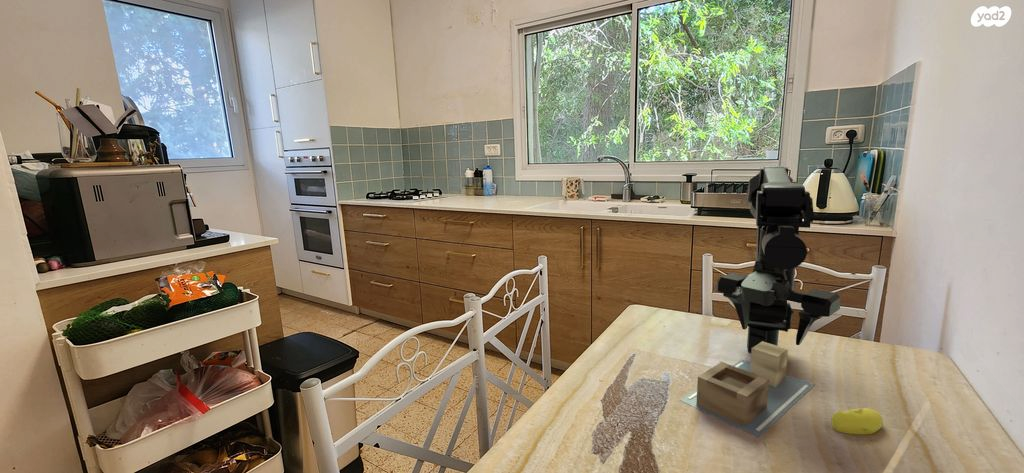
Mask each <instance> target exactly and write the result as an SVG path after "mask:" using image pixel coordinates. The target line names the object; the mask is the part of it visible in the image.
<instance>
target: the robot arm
mask: <svg viewBox="0 0 1024 473" xmlns="http://www.w3.org/2000/svg"><path fill="white" fill-rule="evenodd" d="M746 201H747V202H746V203H750V207H749V209H750V210H749V212H750V214H751V215H752V216H753V218H754V219H755V223H756V224H755V225H756V228H757V229H756V258H755V259H756V260H755V261H754V265H753V267H754V268H753V270H752V272H750V273H749V274H748V275H747V274H746V275H745V274H741V273H736V272H730V273H727V274H724V275H723V276H720V277H719V278H718V279H717V281H716V290H715V291H717V292H718V293H722V295H723V297H724V298H727V299H729V301H730V302H731V303H732V305H733V307H734V309H735V311H736V313H737V317H738V319H739V322H740V325H741V328H742V330H747V329H748V330H747V339H746V348H747V352H748V353H749V354H751V350H752V348H753V347H754V346H756V345H757V344H759V343H760V342H762V341H763V342H766V343H769V344H773V345H776V346H779V335H780V331H781V332H785V333H786V332H787V333H788V332H789V330H791V329H792V328H791V327H792V321H793V316H794V310H793V308H792V306H791V303H790V302H793V303H797V304H800V308H802V310H800V311H799V312H798V316H799V321H798V327H797V330H796V336H795V345H796V346H799V345H800V346H801V344H802V343H803V341H804V339H805V337H806V336H807V334H808V332H809V331H810V329H811V327H812V326H813V324H814V323H815V321H817V320H820V319H822V318H824V317H831V316H832V315H834V314H835V313H836V312H838V311H839V310H840V309H841V301H842V298H841V297H840V295H839V294H838V293H837V292H832V291H828V290H823V289H818V288H813V289H811V290H809V291H807V292H802V291H798V290H794V289H795V288H796V286H797V281H795V273H796V272H795V271H796V268H797V267H799V266H801V265H802V263H804V262H805V260H806V258H807V256H808V255H807V254H808V249H807V245H806V243H805V242H804V240H803V239H802V238H801V237H800V235H799V234H800V233H799V231H800V228H801V229H802V228H805V229H808V228H811V223H814V219H815V215H814V200H813V198H812V196H811V193H810V191H806V187H805V186H804V185H803V184H802V183H797V182H794V180H793V178H792V177H791V176H790V175H789V167H786V166H785V165H774V166H773V165H770V166H767V165H765V166H763V167H760V169H759V173H758V174H756V175H754V176H753V177H752V178H750V179H749V180H748V188H747V200H746ZM788 301H789V302H788Z"/></svg>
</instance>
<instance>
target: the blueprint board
mask: <svg viewBox="0 0 1024 473" xmlns="http://www.w3.org/2000/svg"><path fill="white" fill-rule="evenodd" d="M750 363H751V361H748V360H745V359H740V360H738V361H737V362H736V363H734V364H733V365H732V366H735V367H737V368H740V369H743V370H746V371H748V372H750ZM815 385H816V384H815V383H811V382H809V381H807V380H803V379H800V378H797V377H795V376H791V375H789V374H786V377H785V379H784V380H783V381H782V382H781V383H780V384H778V385H777V386H776V387H774V386H771V385H769V388H768V400H767V408H766V409H764V410H763V411H762V412H761V413H760V414H759V415H757V416H756V417H755V418H754V419H753V420H752V421H750V422H749V423H748V424H747V425H746V426H745V427H744V426H742V425H740V424H738V423H736V422H733V421H731V420H729V419H727V418H725V417H723V416H721V415H718V414H716V413H714V412H712V411H710V410H708V409H705V408H703V407H701V406H699V405H697V404H696V403H697V388H696V389H694V390H693V391H692V392H690V393H689V394H687V395H685V396H684V397H682V398H681V399H680V400H679V401H680V402H682V403H683V404H684V403H685V404H687V405H689V406H691V407H693V408H695V409H698V411H701V412H704V413H706V414H708V415H710V416H711V417H714V418H715V419H719V420H721V421H723V422H724V423H727V424H729V425H731V426H733V427H736V428H737V429H739V430H742V431H744V432H746V433H748V434H751V435H753V436H755V437H757V438H759V437H761V436H762V435H763V434H764V433H765V432H766V431H767V430H768V429H769V428H771V427H772V425H774V424H775V423H776V422H777V421H778V420H779V419H781V417H782V416H783V415H784V414H785V413H787V412H788V411H789V410H790V409H791V408H792V407H793V406H794V405H795V404H796V403H797V402H798V401H799V400H801V399H802V398H803V397H804V396H805V395H806V394H807V393H808V392H809V391H811V389H812V388H813V387H815Z"/></svg>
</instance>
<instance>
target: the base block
mask: <svg viewBox="0 0 1024 473" xmlns="http://www.w3.org/2000/svg"><path fill="white" fill-rule="evenodd" d="M696 384H697V385H696V387H697V388H696V389H697V403H696V404H697V405H699V406H701V407H703V408H705V409H708V410H710V411H712V412H714V413H716V414H718V415H721V416H723V417H725V418H727V419H729V420H731V421H733V422H736V423H738V424H740V425H742V426H744V427H745V426H746V425H747V424H748V423H749V422H750V421H752V420H753V419H754V418H755V417H756V416H757V415H759V414H760V413H761V412H762V411H763V410H764V409H766V408H767V400H768V388H769V379H768V378H765V377H762V376H759V375H757V374H754V373H751V372H748V371H746V370H743V369H740V368H737V367H735V366H733V365H731V364H729V363H726V362H724V361H721V362H718V363H717V364H716V365H714V366H712V367H711V368H709V369H708V370H706V371H705V372H703V373H701V374H700V375H698V376H697V383H696Z"/></svg>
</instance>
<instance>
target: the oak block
mask: <svg viewBox="0 0 1024 473" xmlns="http://www.w3.org/2000/svg"><path fill="white" fill-rule="evenodd" d="M788 353H789V349H788V348H785V347H782V346H779V345H778V346H776V345H773V344H769V343H766V342H763V341H762V342H760V343H759V344H757V345H756V346H754V347H753V348H752V350H751V353H750V362H751V363H750V372H751V373H754V374H757V375H759V376H762V377H765V378H768V379H769V385H771V386H774V387H776V386H777V385H778V384H780V383H781V382H782V381H783V380H784V379H785V377H786V375H787V366H788V357H789V356H788Z"/></svg>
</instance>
